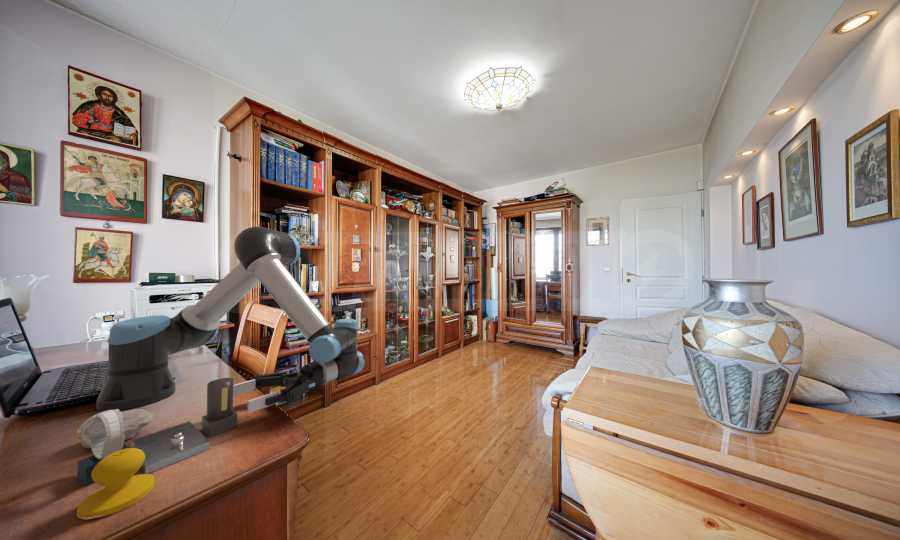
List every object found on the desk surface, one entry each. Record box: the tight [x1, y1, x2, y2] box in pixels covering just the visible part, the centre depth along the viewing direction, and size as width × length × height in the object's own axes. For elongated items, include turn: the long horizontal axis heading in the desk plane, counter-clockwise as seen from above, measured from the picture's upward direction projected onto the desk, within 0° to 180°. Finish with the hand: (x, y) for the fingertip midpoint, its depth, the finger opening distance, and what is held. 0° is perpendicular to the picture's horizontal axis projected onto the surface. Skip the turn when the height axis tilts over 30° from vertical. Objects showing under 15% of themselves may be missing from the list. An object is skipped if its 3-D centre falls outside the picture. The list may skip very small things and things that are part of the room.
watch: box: [76, 409, 131, 487], centre depth 50 cm, size 6×8×11 cm
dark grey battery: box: [201, 377, 238, 438], centre depth 65 cm, size 5×5×11 cm
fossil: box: [79, 408, 155, 449], centre depth 60 cm, size 9×6×10 cm
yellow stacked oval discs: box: [76, 447, 156, 518], centre depth 44 cm, size 8×8×8 cm
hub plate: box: [131, 420, 210, 474], centre depth 57 cm, size 14×9×4 cm, turn 56°
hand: (236, 399), depth 67 cm, fingers open, 13 cm apart
